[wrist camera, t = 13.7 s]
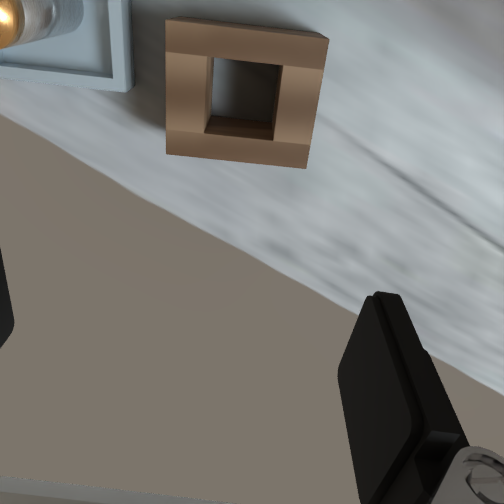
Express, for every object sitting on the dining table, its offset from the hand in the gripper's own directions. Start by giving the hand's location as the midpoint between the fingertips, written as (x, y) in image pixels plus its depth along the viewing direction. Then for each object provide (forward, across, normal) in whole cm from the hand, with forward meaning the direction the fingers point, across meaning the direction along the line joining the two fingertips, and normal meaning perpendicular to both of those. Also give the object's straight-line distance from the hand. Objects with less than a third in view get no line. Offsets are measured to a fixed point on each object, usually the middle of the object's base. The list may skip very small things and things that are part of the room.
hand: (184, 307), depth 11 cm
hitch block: (+32, 0, +1) cm, 32 cm away
